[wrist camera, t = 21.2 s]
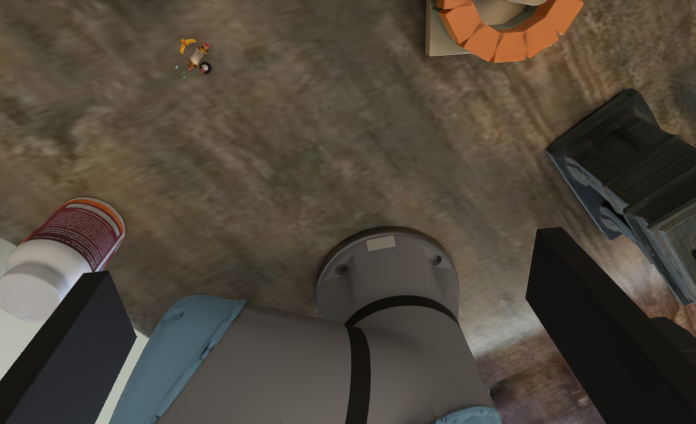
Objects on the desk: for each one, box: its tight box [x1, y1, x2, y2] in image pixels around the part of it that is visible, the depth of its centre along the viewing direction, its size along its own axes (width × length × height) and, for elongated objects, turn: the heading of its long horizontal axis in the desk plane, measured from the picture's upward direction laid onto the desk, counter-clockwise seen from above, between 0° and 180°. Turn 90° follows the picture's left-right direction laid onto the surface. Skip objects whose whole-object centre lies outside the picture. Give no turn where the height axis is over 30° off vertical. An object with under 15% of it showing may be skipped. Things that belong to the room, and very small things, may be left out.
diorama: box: [174, 39, 211, 79], centre depth 35 cm, size 3×4×2 cm
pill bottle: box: [0, 197, 125, 322], centre depth 37 cm, size 6×6×11 cm
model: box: [546, 88, 696, 306], centre depth 36 cm, size 14×9×15 cm, turn 44°
